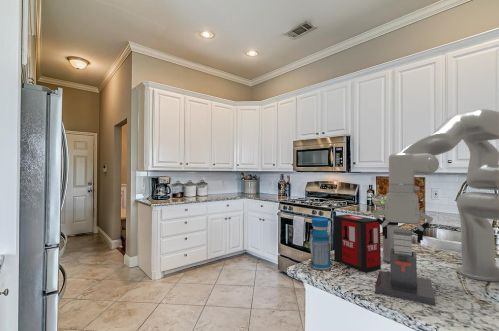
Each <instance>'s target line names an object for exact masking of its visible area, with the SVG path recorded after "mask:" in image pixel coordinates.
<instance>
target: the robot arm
mask: <svg viewBox="0 0 499 331" xmlns="http://www.w3.org/2000/svg"><path fill="white" fill-rule="evenodd" d="M462 140H463V142H464V143H465V145H466V146H467V148H468V151H469V161H468V168H467V172H466V180H465V181H466V184H467V185H468V187H470V188H471V189H474V190H475V189H476V190H483V191H484V192H483V191H466V192H463V193H461V194H459V195H458V197H457V199H456V207H457V210H458V214H459V221H460V236H461V244H460V245H461V266H458V267H457V273H459V274H460V275H462V276H464V277H466V278H469V279H474V280H477V281H483V282H490V283H491V282H493V283H495V281H497V282H499V267H498V266H497V265H496V250H495V249H496V248H495V243H496V242H495V230H494V227H493V225H492V223H491V222H490V221H489V220H496V221H499V192H497V193H496V192H495V193H494V192H485V191H486V190H487V191H499V150H498V149H497V147H495V146H494V145H493V144H492V143H491V142H490V141H496V140H499V111H497V110H492V109H487V108H486V109H483V108H479V109H474V110H469V111H466V112H465V111H464V112H460V113H456V114H453V115H452V116H450V117H448V118H447V119H446V120H445V121H444V122H443V123H441V125H440V126H438V128H436V130H434V131H433V132H432V133H430V134H429V135H427V136H425V137H423V138H421V139H418V140H417V141H415V142H412V143H411V144H409V145H407V146H406V147H405V148H404V149H402V150H401V151H400V152H399V153H397V152H396V153H391V154H390V155H389V157H388V192H387V193H386V195H385V203H384V208H383V209H381V210H378V211H376V212H374V213H373V214H372V215H373V217H374V219H376V220H377V222H378V223H379V224H380V227H381V228H382V230H381V232H382V234H381V235H382V237H383V236H384V238H385V239H387V224H388V223H389V222H394V223H398V224H405V225H415V227H416V228H417V230H416V231H417V233H416V234H417V243H418V244H421V241H423V240H424V238H423V237H424V235H423V234H424V231H425V230H426V229H427V228H428V227H430V225H431V223H432V222H433V220H434V218H433V217H432V216H430V215H429V214H427V213H424V212H422V211H420V203H419V196H418V194H417V193H416V192H417V191H420V189H421V188H420V186H418V185H415V176H428V175H432V174H434V173H436V172H437V171H438V169H439V167H440V160H439V159H438V158H437V157H436V156H439V155H442V154H444V153H448V152H450V151H453V149H454V148H455V147H456V146H457V145H458V144H459V143H461V141H462ZM382 214H384V217H385V221H384V222H383V221H382V218H381V217H380V216H381V215H382ZM421 217H422V218H424V219H425V220H426V221H425V222H424V223H423V224H421V223H420V219H421Z"/></svg>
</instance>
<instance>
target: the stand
mask: <svg viewBox="0 0 499 331" xmlns="http://www.w3.org/2000/svg"><path fill="white" fill-rule="evenodd" d="M389 265H390V267H389V268H390V270H389V271H384V270H378V275H377V278H376V281H375V285H374V293H375V294H380V295H384V296H389V297H394V298H398V299H402V300H408V301H413V302H417V303H420V304H421V303H422V304H425V305H431V306H436V296H435V292H434V287H433V282H432V279H429V278H424V277H418V269H417V267H418V265H417V252H416V251H413V250H412V257H411V256H404V255H397V254H394V249H391V252H390V264H389Z"/></svg>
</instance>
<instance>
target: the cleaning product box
mask: <svg viewBox="0 0 499 331" xmlns="http://www.w3.org/2000/svg"><path fill="white" fill-rule="evenodd" d="M333 247H334V248H333V256H334V260H333V262H337V263H338V264H342V265H345V266H346V267H349V268H352V269H354V270H357V271H359V272H361V273H364V274H369V273H372V272H376V271H377V272H378V271H381V270H382V263H381V262H382V257H381V255H382V252H381V225H380V224H379V223H378V222H377V220H376V218H370V217H365V216H359V215H353V214H348V213H347V214H339V215H333Z"/></svg>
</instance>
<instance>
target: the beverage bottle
mask: <svg viewBox="0 0 499 331" xmlns="http://www.w3.org/2000/svg"><path fill="white" fill-rule="evenodd" d="M311 226H312V227H313V228H311V231H310V238H309V243H310V266H311V268H313V269H315V270H320V271H326V270H327V271H328V270H330V269H331V267H332V264H331V244H332V243H331V242H332V240H331V239H330V238H331V233H330V231H329V229H328V227H329V219H328V218H326V217H312V218H311Z"/></svg>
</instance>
